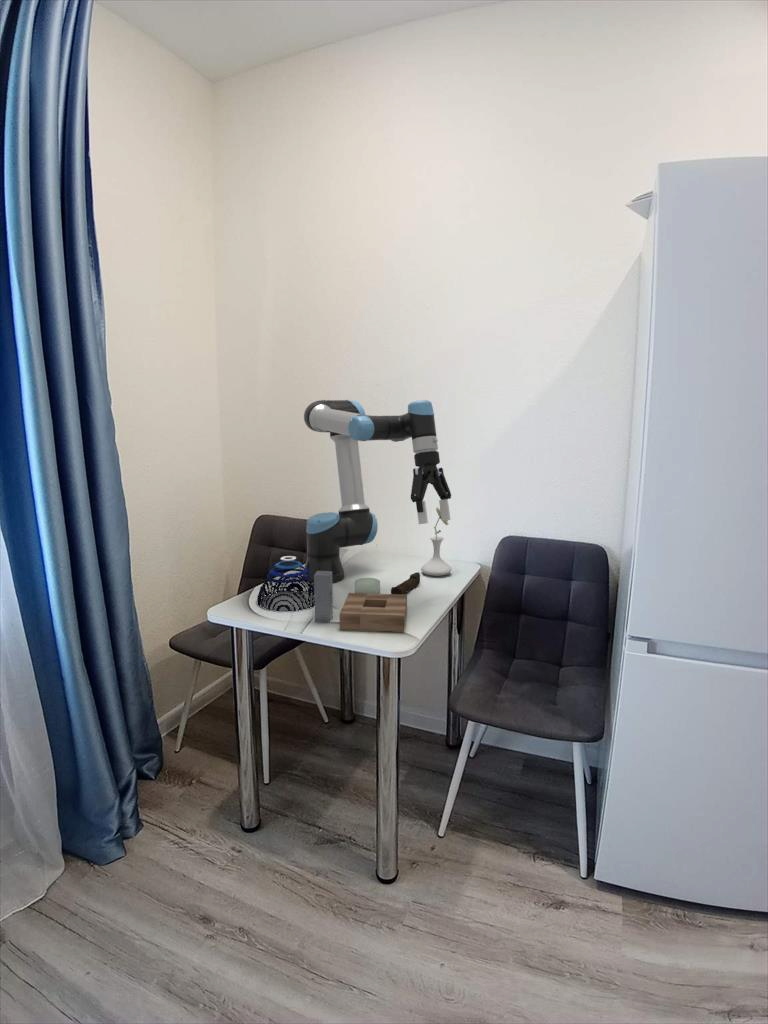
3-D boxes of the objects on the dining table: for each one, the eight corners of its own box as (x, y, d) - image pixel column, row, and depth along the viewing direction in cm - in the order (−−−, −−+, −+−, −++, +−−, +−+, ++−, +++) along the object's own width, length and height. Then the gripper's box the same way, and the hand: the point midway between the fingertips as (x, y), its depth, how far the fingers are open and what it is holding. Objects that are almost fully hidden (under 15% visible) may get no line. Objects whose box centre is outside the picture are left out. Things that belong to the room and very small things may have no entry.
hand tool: (400, 599, 186) (401, 586, 185) (390, 597, 188) (390, 584, 187) (426, 585, 202) (426, 572, 201) (416, 583, 204) (416, 570, 203)
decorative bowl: (324, 591, 193) (324, 550, 191) (316, 612, 174) (315, 566, 171) (266, 591, 194) (264, 549, 191) (251, 611, 174) (249, 566, 172)
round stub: (356, 598, 187) (356, 577, 186) (381, 598, 186) (381, 578, 185) (353, 606, 179) (353, 584, 178) (378, 607, 178) (378, 585, 177)
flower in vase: (450, 579, 208) (452, 511, 203) (419, 577, 210) (420, 510, 205) (452, 569, 220) (453, 505, 216) (422, 567, 222) (423, 504, 218)
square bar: (317, 616, 170) (317, 570, 168) (332, 616, 170) (332, 571, 167) (314, 621, 166) (313, 575, 163) (330, 622, 165) (329, 575, 163)
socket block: (349, 608, 177) (349, 592, 176) (407, 610, 176) (407, 594, 175) (339, 630, 159) (339, 613, 159) (404, 632, 158) (404, 615, 157)
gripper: (414, 448, 160) (424, 523, 160) (456, 451, 181) (465, 517, 180) (392, 453, 165) (402, 526, 164) (436, 455, 185) (444, 520, 184)
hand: (435, 522), depth 172 cm, fingers open, 13 cm apart
